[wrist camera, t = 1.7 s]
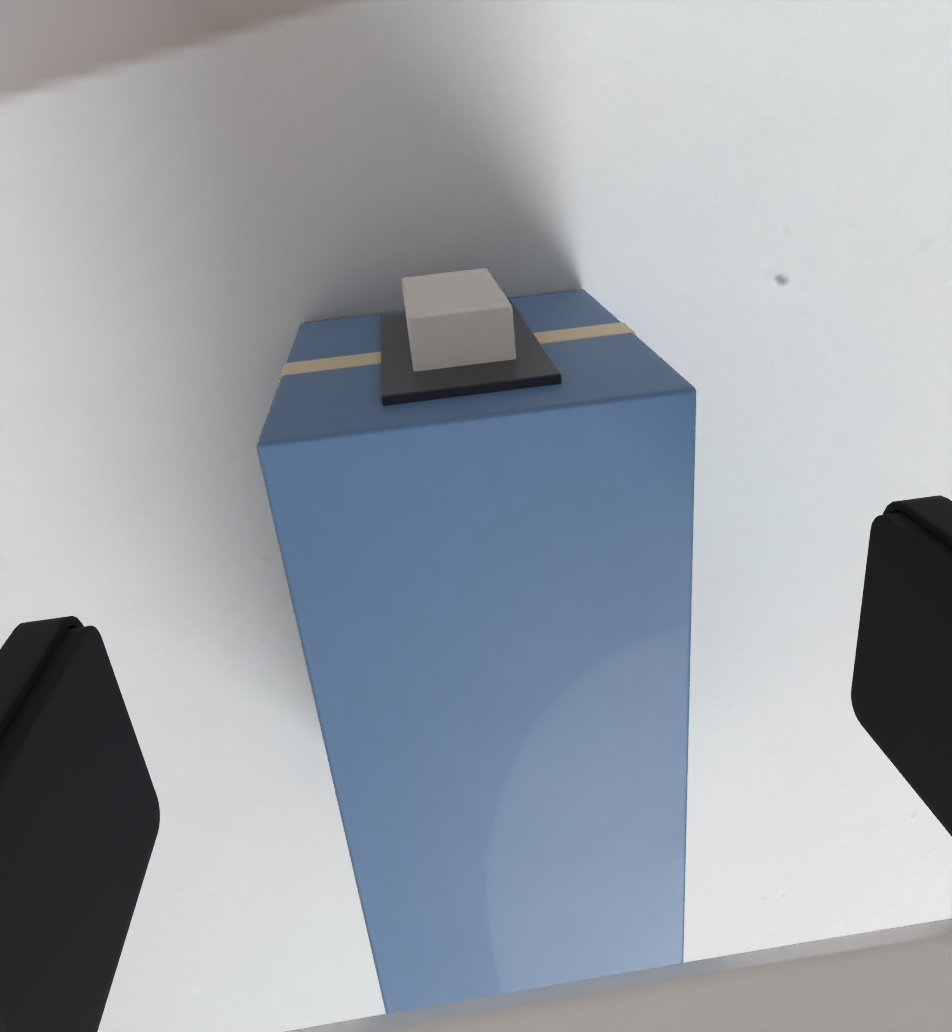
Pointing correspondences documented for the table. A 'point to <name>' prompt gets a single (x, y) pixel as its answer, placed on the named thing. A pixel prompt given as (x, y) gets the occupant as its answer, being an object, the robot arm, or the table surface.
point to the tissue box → (495, 628)
